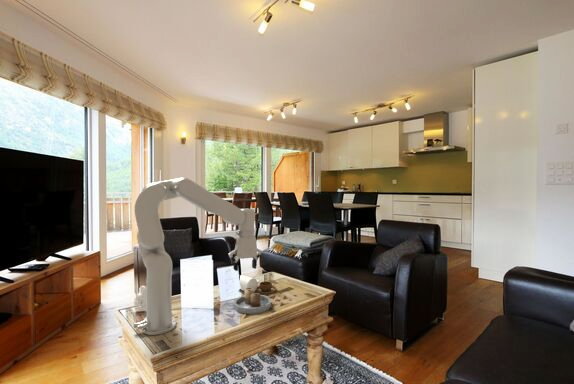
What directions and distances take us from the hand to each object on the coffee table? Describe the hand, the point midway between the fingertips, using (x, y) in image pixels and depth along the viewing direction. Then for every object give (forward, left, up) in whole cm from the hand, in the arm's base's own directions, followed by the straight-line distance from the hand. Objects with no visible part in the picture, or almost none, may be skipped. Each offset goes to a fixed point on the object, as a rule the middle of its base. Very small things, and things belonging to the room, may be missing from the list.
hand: (245, 269), depth 141 cm
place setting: (+15, +14, -19) cm, 28 cm away
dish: (+3, -1, -18) cm, 18 cm away
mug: (+13, +20, -19) cm, 30 cm away
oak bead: (+3, +2, -18) cm, 18 cm away
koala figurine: (-42, +25, -18) cm, 52 cm away
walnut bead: (+3, -5, -18) cm, 18 cm away
